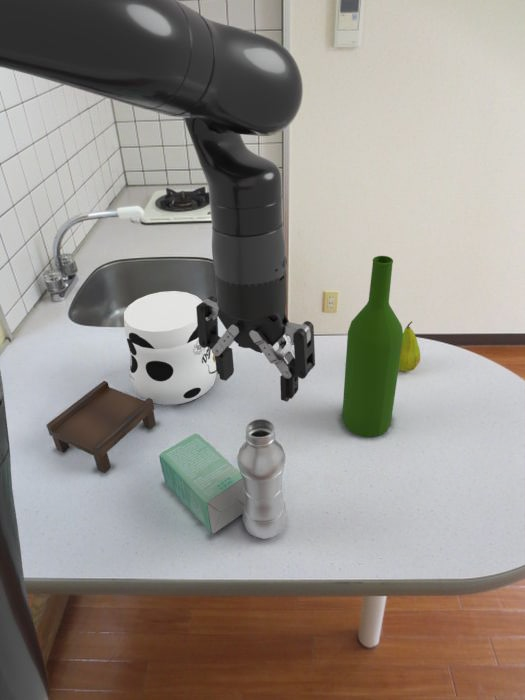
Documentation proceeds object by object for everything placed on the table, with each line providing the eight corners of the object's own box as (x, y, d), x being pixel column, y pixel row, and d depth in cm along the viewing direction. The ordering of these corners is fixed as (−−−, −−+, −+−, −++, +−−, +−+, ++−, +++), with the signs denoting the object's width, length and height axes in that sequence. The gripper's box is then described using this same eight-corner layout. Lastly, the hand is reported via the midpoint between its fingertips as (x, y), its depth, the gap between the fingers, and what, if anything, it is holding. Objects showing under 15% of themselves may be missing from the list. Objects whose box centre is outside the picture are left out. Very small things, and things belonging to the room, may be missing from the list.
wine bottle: (399, 417, 98) (424, 256, 79) (375, 445, 92) (395, 278, 74) (357, 399, 102) (371, 242, 84) (332, 424, 97) (341, 262, 78)
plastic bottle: (295, 531, 78) (296, 433, 67) (256, 552, 75) (249, 453, 64) (273, 502, 83) (270, 405, 71) (235, 520, 80) (225, 423, 69)
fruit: (402, 355, 114) (409, 307, 107) (425, 369, 109) (433, 320, 103) (381, 366, 111) (387, 318, 104) (404, 381, 107) (411, 331, 100)
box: (200, 461, 90) (195, 429, 86) (250, 509, 82) (247, 476, 77) (163, 483, 87) (156, 451, 82) (212, 536, 78) (207, 503, 74)
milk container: (236, 383, 108) (229, 307, 98) (169, 426, 98) (154, 346, 88) (182, 351, 118) (172, 280, 108) (117, 388, 108) (98, 312, 98)
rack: (104, 474, 89) (96, 448, 85) (55, 450, 94) (45, 424, 90) (157, 424, 98) (152, 399, 95) (110, 405, 104) (103, 380, 100)
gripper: (173, 266, 55) (191, 387, 64) (294, 295, 49) (295, 424, 58) (213, 240, 60) (224, 355, 69) (327, 263, 54) (323, 386, 63)
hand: (256, 386), depth 64 cm, fingers open, 8 cm apart
